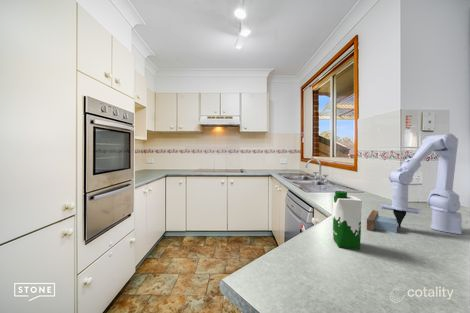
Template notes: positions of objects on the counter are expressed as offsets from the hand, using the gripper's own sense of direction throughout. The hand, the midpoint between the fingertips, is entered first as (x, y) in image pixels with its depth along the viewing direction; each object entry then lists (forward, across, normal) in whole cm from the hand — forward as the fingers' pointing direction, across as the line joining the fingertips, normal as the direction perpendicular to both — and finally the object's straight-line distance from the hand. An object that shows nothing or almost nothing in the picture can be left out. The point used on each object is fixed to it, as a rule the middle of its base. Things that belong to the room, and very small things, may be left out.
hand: (399, 227), depth 92 cm
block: (+2, -5, 0) cm, 5 cm away
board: (+1, -10, 0) cm, 10 cm away
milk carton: (+2, -15, -33) cm, 36 cm away
